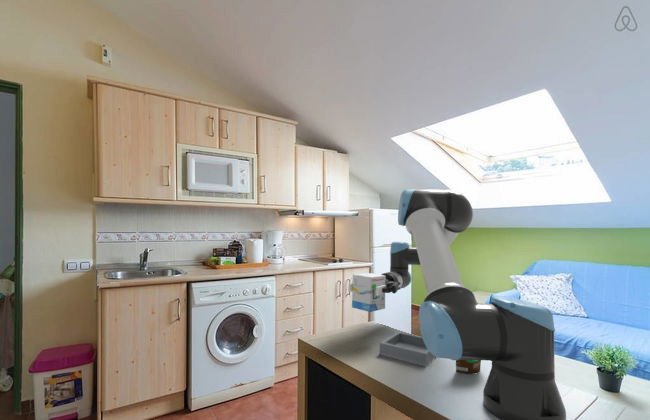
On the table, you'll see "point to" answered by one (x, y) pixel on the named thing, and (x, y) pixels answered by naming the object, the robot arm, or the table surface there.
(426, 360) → the housing tray
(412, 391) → the table surface
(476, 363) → the food container
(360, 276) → the ink box
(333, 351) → the table surface
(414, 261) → the robot arm
